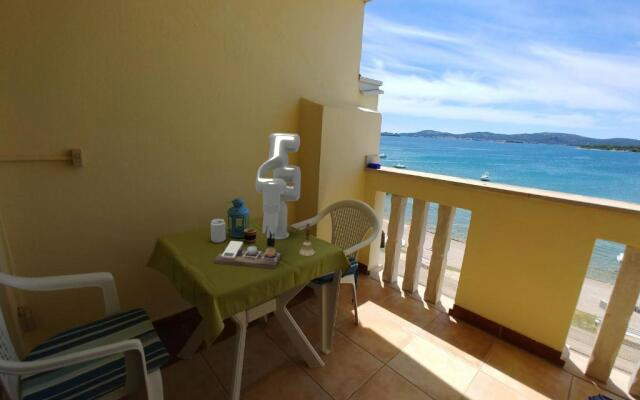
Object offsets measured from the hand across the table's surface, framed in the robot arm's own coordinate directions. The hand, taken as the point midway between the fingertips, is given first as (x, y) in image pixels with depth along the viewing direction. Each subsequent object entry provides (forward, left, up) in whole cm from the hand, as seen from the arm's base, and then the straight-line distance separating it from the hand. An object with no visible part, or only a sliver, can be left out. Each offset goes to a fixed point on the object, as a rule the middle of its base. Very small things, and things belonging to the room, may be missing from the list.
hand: (270, 246), depth 122 cm
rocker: (0, -19, -4) cm, 19 cm away
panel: (0, -11, -8) cm, 13 cm away
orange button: (0, 0, -4) cm, 4 cm away
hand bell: (-14, +15, -8) cm, 22 cm away
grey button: (0, -9, -4) cm, 10 cm away
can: (-19, -35, -8) cm, 40 cm away
